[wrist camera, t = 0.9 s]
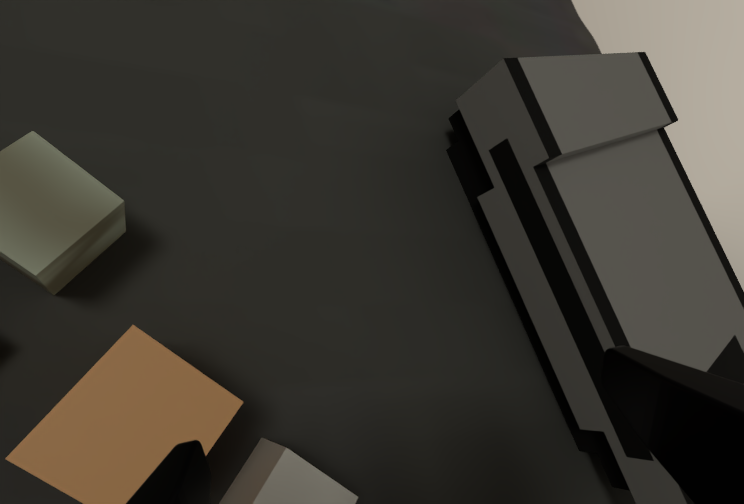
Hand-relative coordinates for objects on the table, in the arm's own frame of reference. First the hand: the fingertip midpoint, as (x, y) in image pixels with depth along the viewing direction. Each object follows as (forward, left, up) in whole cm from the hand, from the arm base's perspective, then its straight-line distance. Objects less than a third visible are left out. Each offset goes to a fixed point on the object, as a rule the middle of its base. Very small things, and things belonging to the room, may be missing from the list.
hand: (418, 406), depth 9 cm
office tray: (+24, -18, -15) cm, 33 cm away
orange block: (-3, +4, -14) cm, 15 cm away
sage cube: (+1, +12, -14) cm, 18 cm away
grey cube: (-3, -4, -14) cm, 15 cm away
